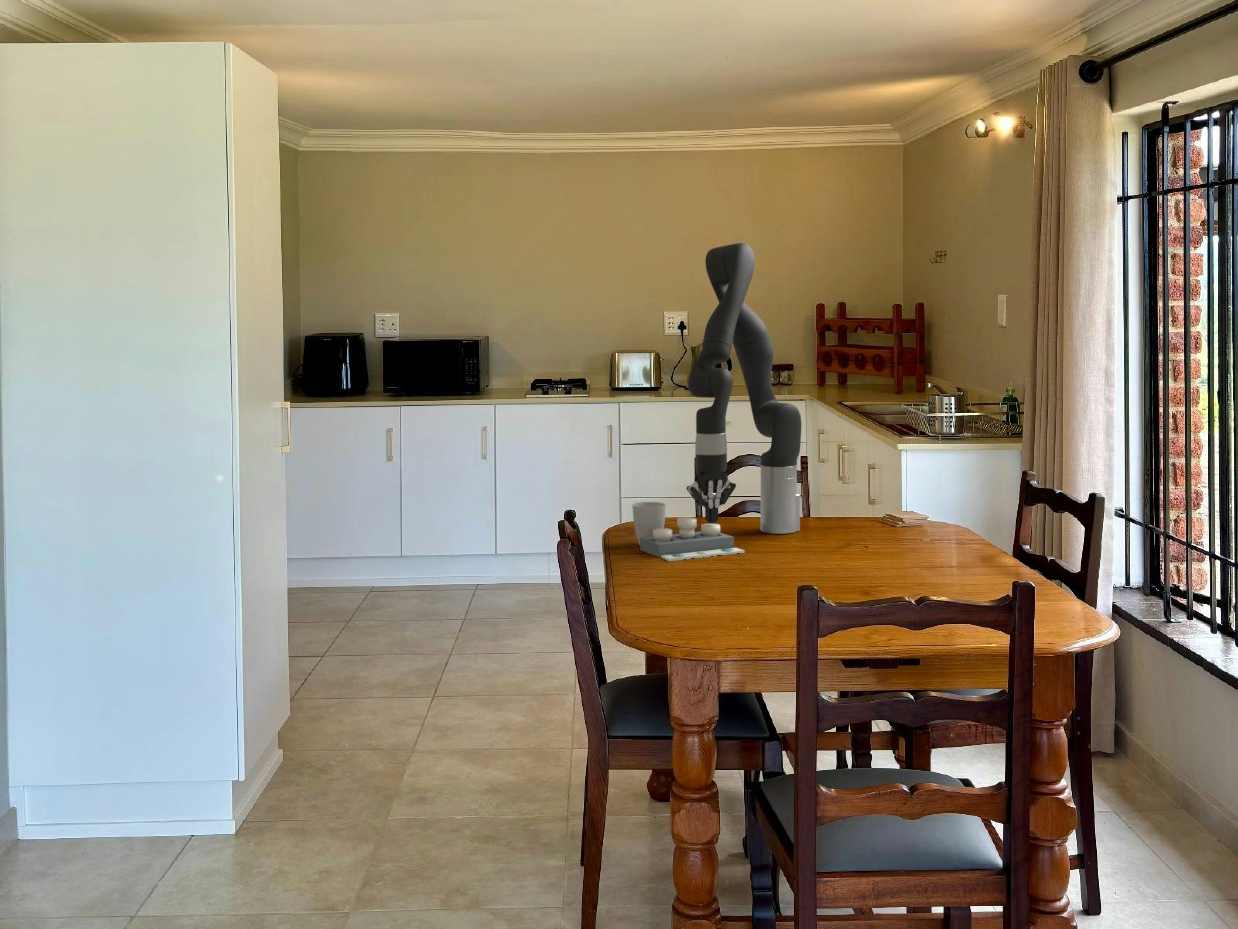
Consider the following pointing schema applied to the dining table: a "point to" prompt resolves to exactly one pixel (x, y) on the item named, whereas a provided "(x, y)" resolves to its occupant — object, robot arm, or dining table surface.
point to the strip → (702, 554)
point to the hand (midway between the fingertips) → (711, 522)
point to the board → (685, 544)
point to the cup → (648, 518)
